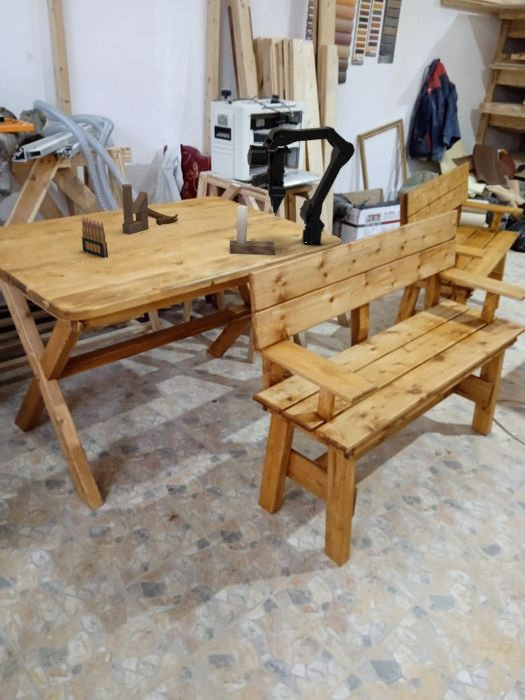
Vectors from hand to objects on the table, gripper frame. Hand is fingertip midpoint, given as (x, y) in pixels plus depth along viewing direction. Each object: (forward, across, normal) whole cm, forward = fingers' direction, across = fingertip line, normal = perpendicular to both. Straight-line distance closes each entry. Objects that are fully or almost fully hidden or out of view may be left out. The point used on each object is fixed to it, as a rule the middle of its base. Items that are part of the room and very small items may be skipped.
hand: (273, 209), depth 207 cm
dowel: (+10, +10, -12) cm, 18 cm away
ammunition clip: (+13, +18, -62) cm, 66 cm away
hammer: (+14, -35, -48) cm, 61 cm away
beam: (+13, +10, -8) cm, 18 cm away
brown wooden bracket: (+13, -11, -52) cm, 55 cm away
